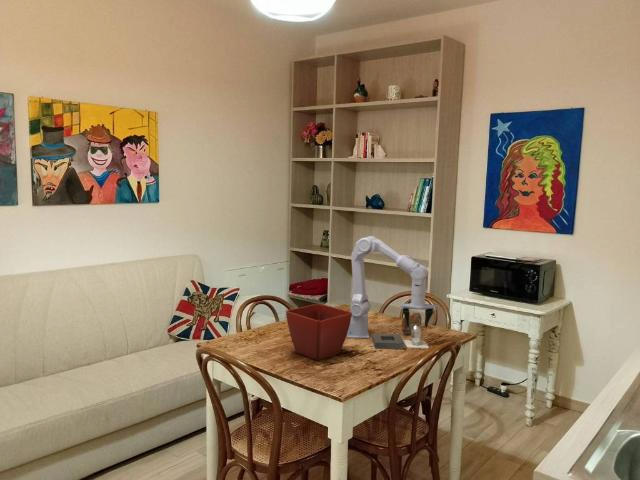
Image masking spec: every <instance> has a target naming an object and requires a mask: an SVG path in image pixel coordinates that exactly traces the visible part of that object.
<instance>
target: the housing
mask: <svg viewBox="0 0 640 480" xmlns="http://www.w3.org/2000/svg"><path fill="white" fill-rule="evenodd" d="M371 341H372V344H373V345H372V346H373V347H374V348H373V349H381V350H383V349H384V350H385V349H386V350H388V349H389V350H404V349H405V343H404V339H403V337H402V335H401V334H400V333H398V334H397V333H372V334H371Z"/></svg>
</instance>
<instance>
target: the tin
mask: <svg viewBox="0 0 640 480" xmlns="http://www.w3.org/2000/svg"><path fill="white" fill-rule="evenodd" d="M412 324H420V325H421V326H422V316H421V313H420V312H411V313H410V314H409V327H407V326H406V319H405V316H403V318H402V321H401V331H402V333H403V335H409V336H410V335H411V325H412Z"/></svg>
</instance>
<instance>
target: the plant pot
mask: <svg viewBox="0 0 640 480" xmlns="http://www.w3.org/2000/svg"><path fill="white" fill-rule="evenodd" d="M285 313H286V314H285V315H286V322H287V327H288V330H289V335H290V338H291V342H292V345H293V348H294V350H295V352H296V353H297V354H300V355H302V356H305V357H308V358H310V359H312V360H316V361H320V360H324V359H327V358H329V357H334V356H336V355H339V354H340V353H341V351H342V349H343V346H344V343H345V341H346V338H347V333H348V329H349V326H350V322H351V317H352V313H351V312H350V311H347V310H344V309H340V308H336V307H333V306H330V305H326V304H322V303H316V304H310V305H306V306H302V307H297V308H292V309H288V310H285Z"/></svg>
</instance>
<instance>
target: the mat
mask: <svg viewBox="0 0 640 480" xmlns="http://www.w3.org/2000/svg"><path fill="white" fill-rule="evenodd" d="M403 342H404V346H406V348H407V349H430V347H429V344H428V343H427V341H426V340H421V345H412V344H411V340H409V339H403Z"/></svg>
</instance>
